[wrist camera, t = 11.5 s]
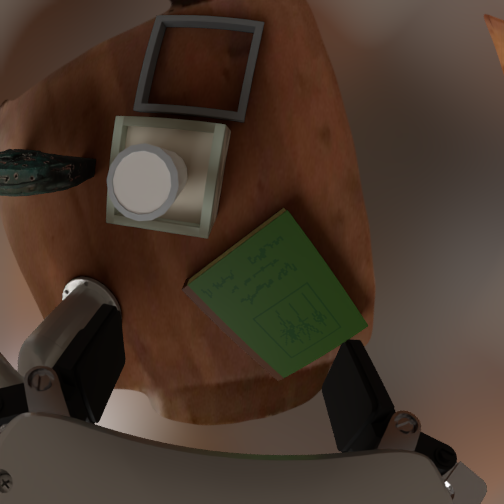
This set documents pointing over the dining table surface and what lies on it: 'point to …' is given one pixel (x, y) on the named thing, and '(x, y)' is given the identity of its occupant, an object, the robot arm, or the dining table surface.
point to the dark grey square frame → (196, 22)
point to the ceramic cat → (41, 172)
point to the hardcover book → (276, 298)
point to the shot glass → (145, 181)
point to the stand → (196, 160)
